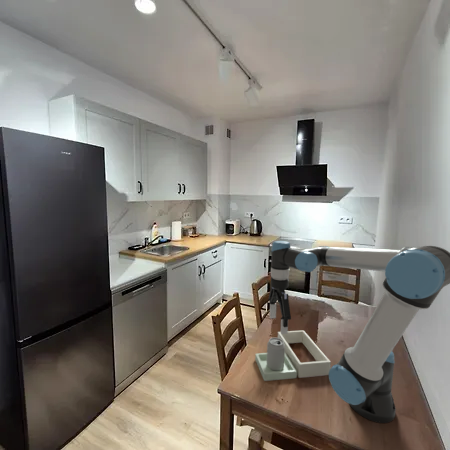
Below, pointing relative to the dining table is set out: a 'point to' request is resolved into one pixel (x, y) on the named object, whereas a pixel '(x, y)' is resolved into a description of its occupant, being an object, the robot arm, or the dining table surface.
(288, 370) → the tray
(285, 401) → the dining table surface
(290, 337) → the white rectangular frame
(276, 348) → the can
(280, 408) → the dining table surface
